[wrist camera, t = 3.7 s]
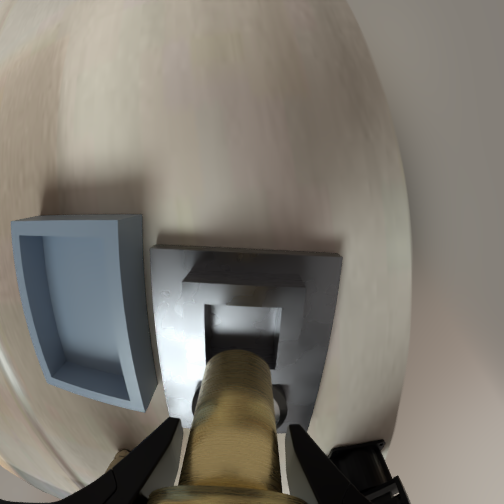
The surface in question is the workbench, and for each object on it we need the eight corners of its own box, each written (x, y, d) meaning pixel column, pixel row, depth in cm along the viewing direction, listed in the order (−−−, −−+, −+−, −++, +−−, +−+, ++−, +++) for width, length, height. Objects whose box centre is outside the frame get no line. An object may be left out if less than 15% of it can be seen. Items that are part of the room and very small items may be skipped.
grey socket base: (337, 253, 17) (356, 267, 14) (305, 423, 21) (310, 451, 17) (155, 244, 17) (134, 257, 14) (174, 416, 21) (165, 444, 17)
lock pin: (291, 337, 11) (337, 523, 3) (281, 409, 12) (298, 556, 4) (186, 332, 11) (116, 507, 3) (193, 404, 12) (159, 547, 4)
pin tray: (142, 214, 17) (117, 220, 13) (157, 384, 20) (145, 412, 16) (39, 215, 17) (10, 221, 13) (65, 363, 20) (47, 382, 16)
